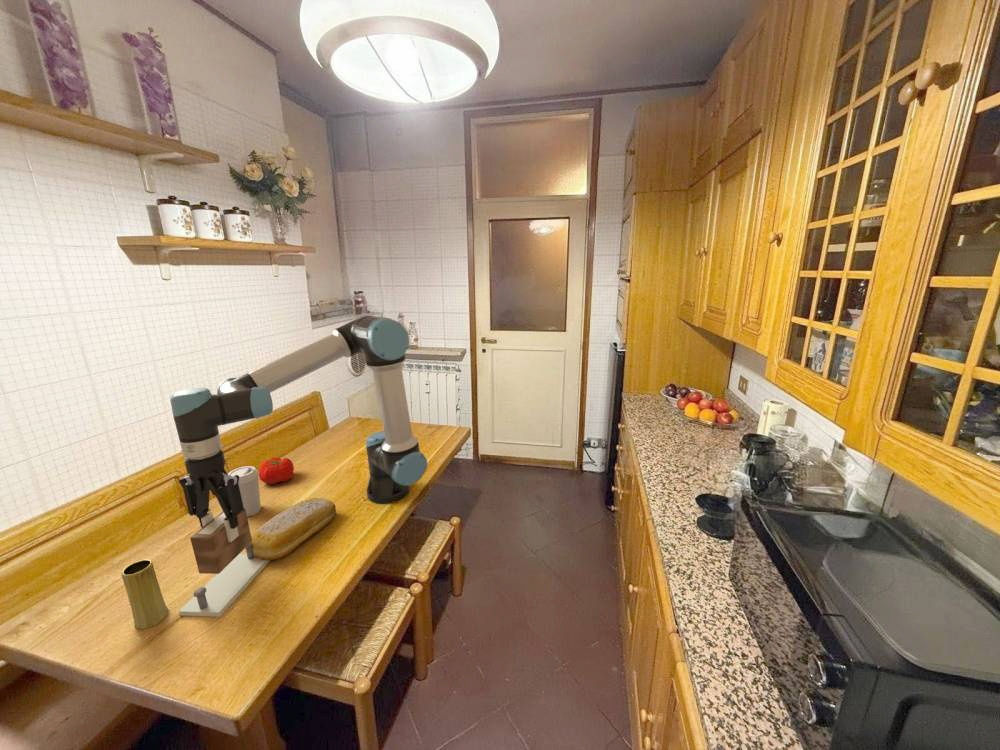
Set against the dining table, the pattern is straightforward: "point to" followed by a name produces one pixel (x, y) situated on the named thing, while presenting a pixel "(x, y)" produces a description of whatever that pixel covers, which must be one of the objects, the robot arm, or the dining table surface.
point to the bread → (291, 528)
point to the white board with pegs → (225, 586)
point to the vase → (144, 594)
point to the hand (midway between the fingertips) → (222, 538)
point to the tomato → (276, 470)
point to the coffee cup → (248, 488)
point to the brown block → (219, 544)
